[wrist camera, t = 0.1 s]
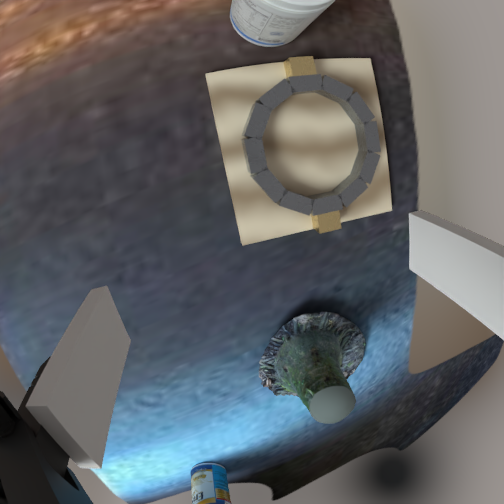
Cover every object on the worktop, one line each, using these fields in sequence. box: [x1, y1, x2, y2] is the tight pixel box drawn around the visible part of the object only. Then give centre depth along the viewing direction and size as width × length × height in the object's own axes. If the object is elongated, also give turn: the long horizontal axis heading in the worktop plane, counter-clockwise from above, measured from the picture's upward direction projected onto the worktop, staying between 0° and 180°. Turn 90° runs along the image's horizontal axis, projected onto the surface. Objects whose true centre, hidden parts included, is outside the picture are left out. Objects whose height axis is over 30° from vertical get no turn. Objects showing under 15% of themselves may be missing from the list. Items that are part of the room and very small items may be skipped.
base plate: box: [206, 58, 392, 245], centre depth 38 cm, size 22×22×1 cm
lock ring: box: [241, 56, 381, 233], centre depth 36 cm, size 22×17×2 cm
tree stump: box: [259, 311, 366, 423], centre depth 44 cm, size 18×20×18 cm
